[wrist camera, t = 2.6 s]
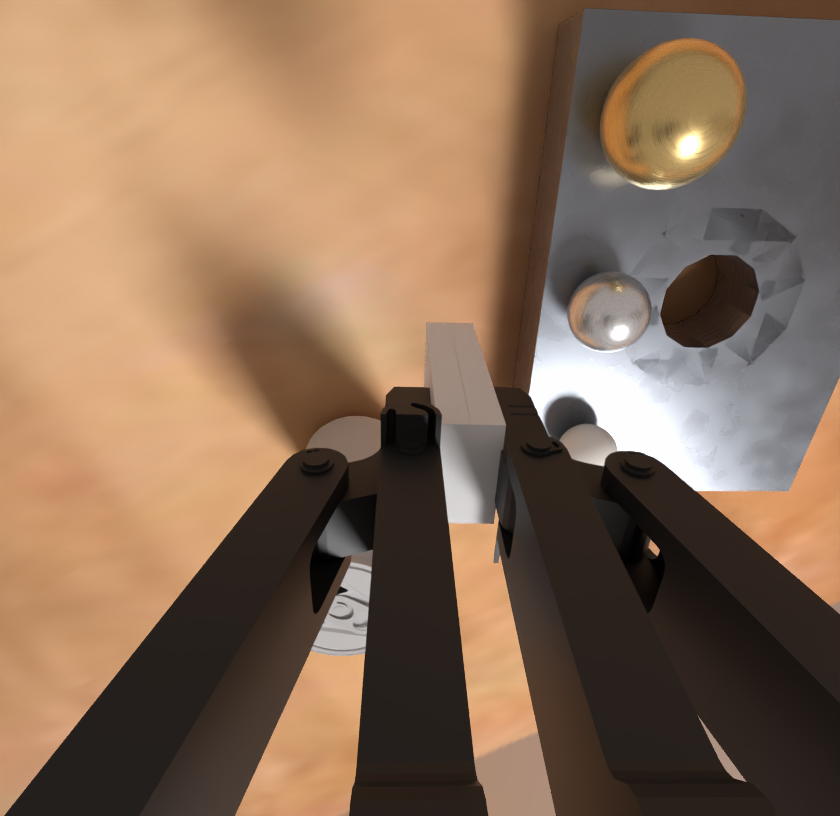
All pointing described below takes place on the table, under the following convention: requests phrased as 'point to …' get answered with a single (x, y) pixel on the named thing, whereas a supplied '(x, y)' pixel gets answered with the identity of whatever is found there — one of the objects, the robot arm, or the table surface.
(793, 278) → the plate
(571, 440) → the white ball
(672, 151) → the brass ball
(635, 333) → the steel ball
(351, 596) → the beverage can
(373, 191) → the table surface
